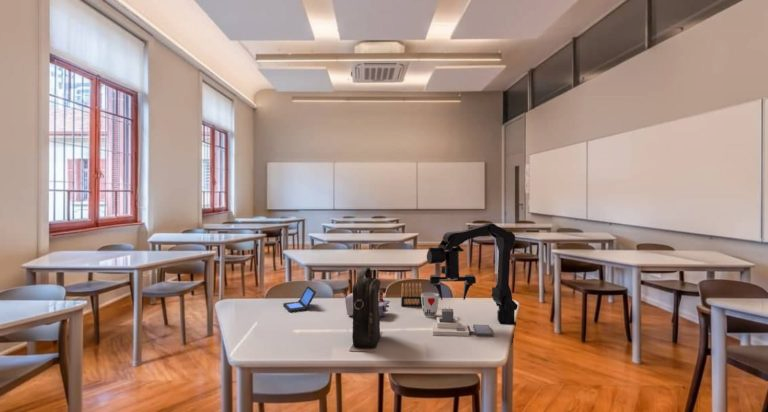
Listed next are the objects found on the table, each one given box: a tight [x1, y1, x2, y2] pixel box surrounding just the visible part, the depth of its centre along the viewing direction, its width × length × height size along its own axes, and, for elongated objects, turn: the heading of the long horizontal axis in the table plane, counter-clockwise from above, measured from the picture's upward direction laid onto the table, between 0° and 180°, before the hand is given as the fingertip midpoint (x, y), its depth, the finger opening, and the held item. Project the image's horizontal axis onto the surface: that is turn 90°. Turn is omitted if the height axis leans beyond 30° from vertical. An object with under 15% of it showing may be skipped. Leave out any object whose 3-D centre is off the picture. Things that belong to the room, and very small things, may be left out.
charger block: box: [441, 306, 454, 323], centre depth 169 cm, size 4×4×7 cm
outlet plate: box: [432, 316, 470, 337], centre depth 167 cm, size 14×14×4 cm
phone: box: [472, 324, 494, 338], centre depth 165 cm, size 6×12×1 cm, turn 174°
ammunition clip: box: [400, 282, 423, 308], centre depth 206 cm, size 11×2×12 cm, turn 85°
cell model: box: [344, 292, 390, 318], centre depth 190 cm, size 13×11×20 cm
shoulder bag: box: [348, 266, 383, 353], centre depth 155 cm, size 23×9×28 cm, turn 173°
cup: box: [421, 292, 440, 318], centre depth 188 cm, size 8×8×10 cm
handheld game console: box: [282, 285, 317, 313], centre depth 205 cm, size 16×13×9 cm
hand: (452, 299), depth 171 cm, fingers open, 9 cm apart
